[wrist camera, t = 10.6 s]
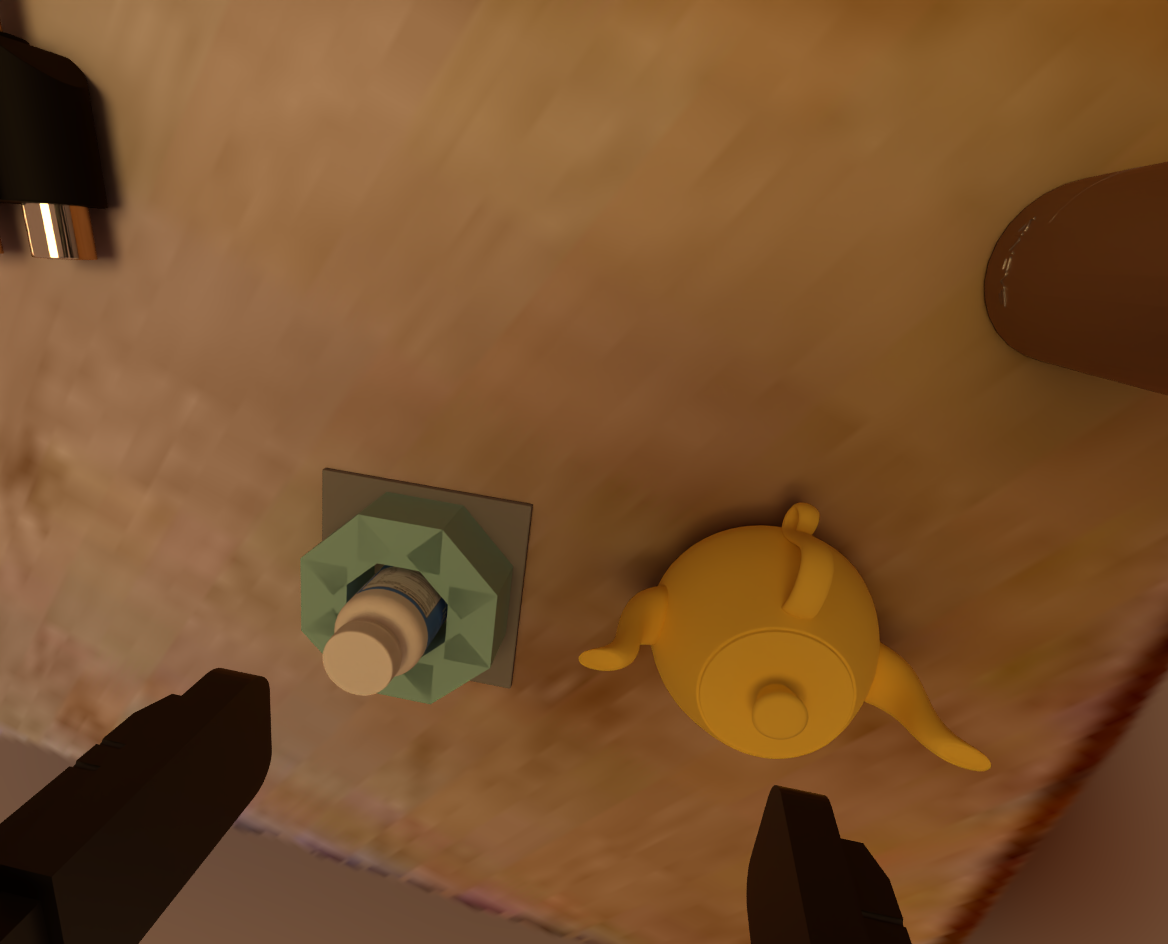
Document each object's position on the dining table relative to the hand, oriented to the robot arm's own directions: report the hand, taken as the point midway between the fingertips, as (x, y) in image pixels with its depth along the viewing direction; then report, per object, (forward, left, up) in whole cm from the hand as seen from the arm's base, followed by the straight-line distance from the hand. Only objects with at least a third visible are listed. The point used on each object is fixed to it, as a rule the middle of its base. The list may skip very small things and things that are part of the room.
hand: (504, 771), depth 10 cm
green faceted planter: (+12, +15, -30) cm, 35 cm away
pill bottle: (+12, +15, -30) cm, 35 cm away
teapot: (-10, +11, -30) cm, 34 cm away
